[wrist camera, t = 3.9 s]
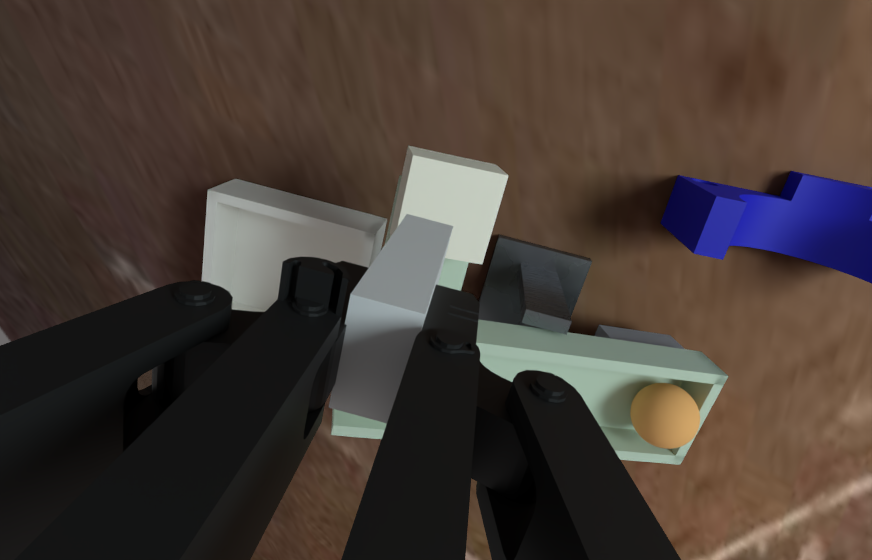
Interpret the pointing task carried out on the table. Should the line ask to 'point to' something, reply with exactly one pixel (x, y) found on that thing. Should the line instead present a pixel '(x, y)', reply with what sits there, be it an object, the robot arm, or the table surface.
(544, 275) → the pivot stand
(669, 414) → the ball
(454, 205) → the lever
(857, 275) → the cable clip
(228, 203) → the open white tray
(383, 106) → the table surface
